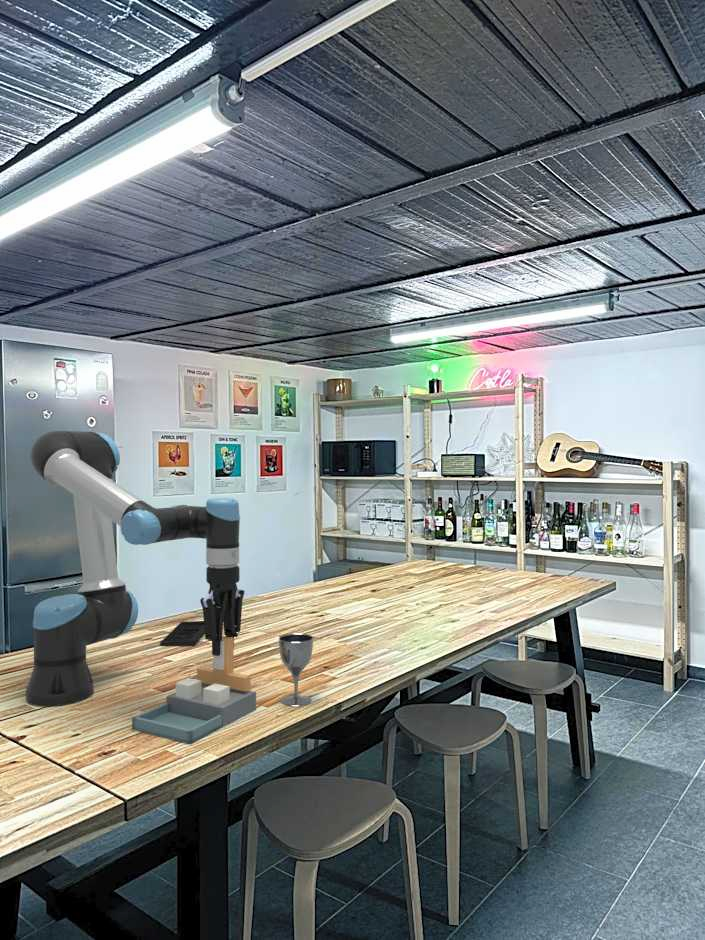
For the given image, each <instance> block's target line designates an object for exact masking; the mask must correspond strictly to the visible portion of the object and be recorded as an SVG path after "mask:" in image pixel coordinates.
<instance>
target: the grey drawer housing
mask: <svg viewBox="0 0 705 940" xmlns="http://www.w3.org/2000/svg"><path fill="white" fill-rule="evenodd" d="M208 686H211V684H206V683H201V694H200V695H198V696H196V697H193V698H191V699H185V698H181V697H176V691H175V692H172V693H170V694H168V695H166V698H165V699H166V701H165V703H168V707H169V712H171V713H175V714H179V715H184V716H188V717H192V718H197V719H201V720H205V721H208V720H210V719H212V718H214V717H216V716H218V715H222V728H224V727H225V726H227V725H229V724H231V723H232V722H234V721H237V720H239V719H241V718H242V717H245V716H246V715H247V714H250V713H252V712H254V711H255V710H257V692H256V691H254V690H253V691H252V690H250V689H249V690H247V691H241V690H236V689H231V688H230V700H228V701H226V702H224V703H222V704H220V705H213V704H209V703H204V702H203V689H204V688H206V687H208Z"/></svg>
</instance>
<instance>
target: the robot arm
mask: <svg viewBox="0 0 705 940" xmlns="http://www.w3.org/2000/svg"><path fill="white" fill-rule="evenodd" d="M29 454H30V455H29V458H30V459H29V460H30V464H31V466H32V468H33V470H34V471H35V473H36V474H37V475H38V476H39V477H40V478H42V479H43V480H45V481H46V482H47V483H49V484H50V485H54V486H61V487H63V488H64V489H65V490H67V491H68V492H70V493H71V494H73V505H74V512H75V513H74V514H75V521H76V530H77V539H78V549H79V556H80V557H79V558H80V564H81V573H82V582H83V583H82V585H81V586H80V588H79V589H78V590H77V593H70V594H69V593H68V594H64V595H57V596H56V595H55V596H52V597H49V598H47V599H44V600H42V601H40V602H39V603H37V605H36V606H35V608H34V611H33V619H32V620H33V621H32V626H33V668H32V671H31V675H30V679H29V681H28V686H27V687H26V690H25V700H26V702H27V703H28V704H31V705H34V706H42V707H53V706H55V707H56V706H63V705H70V704H73V703H76V702H77V703H79V702H81V701H83V700H86V699H87V698H90V697H91V696H92V695H94V692H95V682H94V679H93V676H92V674H91V671H90V668H89V666H88V661H87V646H89V645H93V644H96V643H100V642H103V641H107V640H112V639H116V638H119V637H120V636H122V635H125V634H127V633H128V632H130V631H131V630H132V629H133V627H134V626H135V624H136V622H137V619H138V615H139V605H138V600H137V599H136V597H135V596H134V593H132V592H131V591H130V590H127V588H126V587H127V586H126V582H124V580H121V578H120V577H119V572H118V571H119V570H118V564H117V556H116V555H117V554H116V547H115V540H114V539H115V538H114V530H113V523H115V524H117V525H118V526H119V527H120V533H121V535H123V539H124V540H125V541H126V543H129V544H130V545H135V546H137V545H142V546H146V545H152V544H156V543H157V544H158V543H160V542H161V543H162V542H167V541H168V542H170V541H177V540H182V539H190V538H191V539H204V540H205V539H206V540H205V543H206V546H205V550H206V551H205V558H206V559H205V560H206V561H205V562H206V563H205V564H206V565H207V567H206V568H205V570H206V579H205V580H206V583H208V586H209V590H208V593H207V594H208V595H206V597H201V598H200V599H199V602H200V605H201V607H202V617H203V621H204V630H205V635H204V640H206V641H207V640H208V641H211V655H212V669H213V668H214V669H219V670H224V641H222V635H225V636H226V637H232V638H233V640H234V641H235V638H239V633H241V627H242V626H241V625H242V609H243V600H244V595H245V590H244V589H238V586H237V583H239V582H240V566H239V565H238V564H239V563H240V520H241V516H240V505H239V501H238V500H237V499H235V498H229V497H225V498H221V497H220V498H218V497H217V498H209V499H207V500H206V503H205V506H198V505H197V506H196V505H187V504H182V505H181V504H180V505H171V506H169V507H160V508H159V507H158V508H156V507H153V506H152V505H150V504H148V503H147V502H145V501H143V500H142V499H141V498H139V497H137V495H135V494H134V493H132V492H130V491H129V490H127V489H126V488H124V487H122V486H121V484H120V485H119V484H118V483H116V482H115V481H114V479H113V477H114V476H113V474H115V473H116V472H117V471H118V469H119V468H118V467H119V465H120V463H121V462H120V461H121V456H120V454H121V453H120V449H119V447H118V445H117V444H116V442H115V441H114V439H112V438H111V437H110V436H109V435H107V434H105V433H103V432H102V433H101V432H95V431H73V430H72V431H71V430H67V431H66V430H65V431H64V430H53V431H48V432H45V433H43V434H42V435H40V436H39V437H38V438H37V439H36V440H35V441H34V443H33V444H32V447H31V448H30V453H29Z"/></svg>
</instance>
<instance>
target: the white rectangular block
mask: <svg viewBox="0 0 705 940" xmlns="http://www.w3.org/2000/svg"><path fill="white" fill-rule="evenodd" d="M228 700H230V686H226V685H221V684H213V685H211V686H208V687H206V688H204V689H203V702H204V703H209V704H213V705H220V704H222V703H224V702H226V701H228Z"/></svg>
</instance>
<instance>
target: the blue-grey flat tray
mask: <svg viewBox="0 0 705 940" xmlns="http://www.w3.org/2000/svg"><path fill="white" fill-rule="evenodd" d="M221 728H223V727H222V715H218V716H216V717H214V718H212V719H210V720H208V721H205V720H201V719H197V718H192V717H188V716H184V715H179V714H175V713H171V712H169V707H168V703H166V702H165V703H162V704H161V705H160V704H159V705H158V706H155V707H154V708H151V709H149V710H146V711H145V712H144V711H143V712H141V713H140V714H137V715H134V716H132V717H131V729H132V730H133V731H137V732H141V733H145V734H149V735H153V736H156V737H161V738H165V739H169V740H174V741H176V742H180V743H185V744H188V745H191V744H193V743H195V742H197V741H199V740H201V739H203V738H205V737H207V736H209V735H210V734H212V733H214V732H216V731H218V730H220V729H221Z"/></svg>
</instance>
